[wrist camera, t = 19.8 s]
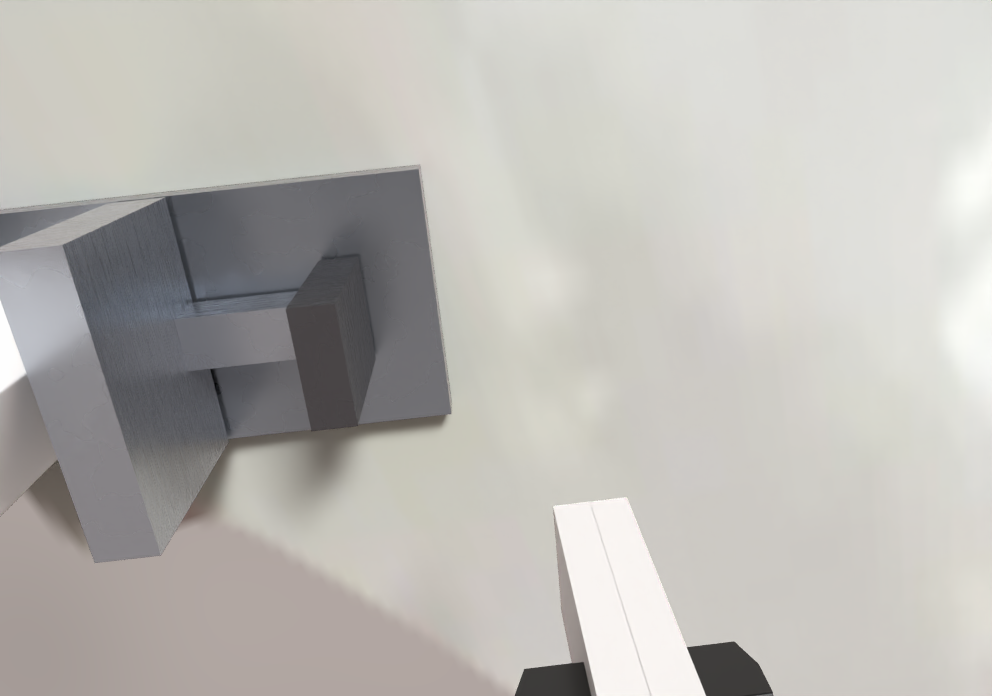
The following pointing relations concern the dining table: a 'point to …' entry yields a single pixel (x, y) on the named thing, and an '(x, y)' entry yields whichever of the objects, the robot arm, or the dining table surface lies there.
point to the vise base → (285, 266)
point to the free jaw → (161, 362)
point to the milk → (19, 425)
